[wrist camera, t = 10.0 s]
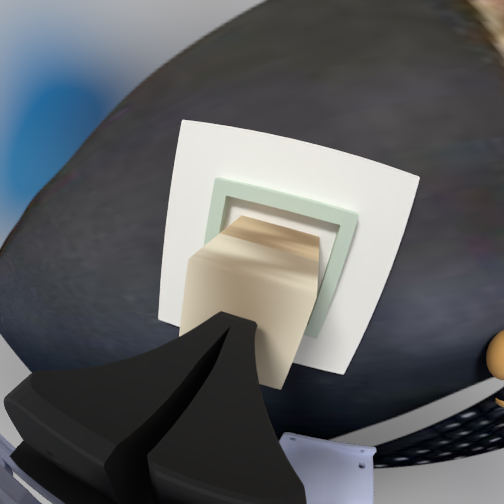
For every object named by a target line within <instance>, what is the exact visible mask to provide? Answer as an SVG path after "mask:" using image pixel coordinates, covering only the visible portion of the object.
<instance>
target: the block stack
mask: <svg viewBox="0 0 504 504" xmlns="http://www.w3.org/2000/svg"><path fill="white" fill-rule="evenodd" d="M319 239H320V237H319V236H315V235H312V234H308V233H305V232H301V231H298V230H294V229H290V228H287V227H283V226H280V225H276V224H272V223H269V222H265V221H261V220H258V219H254V218H250V217H246V216H243V215H242V216H240V217H239V218H238V219H237V220H235V221H234V222H233V223H232V224H230V225H229V226H228V227H227V228H225V229H224V230H223V231H222V232H221V233H219V234H218V235H217V236H216V237H214V238H213V239H212V240H211V241H209V242H208V243H207V244H206V245H205V246H203V247H202V248H201V249H200V250H199V251H197V252H196V253H195V254H194V255H192V256H191V257H190V258H189V259H188V266H187V273H186V281H185V289H184V297H183V305H182V314H181V323H180V333H179V337H180V336H181V335H183V334H185V333H187V332H188V331H190V330H192V329H193V328H195V327H197V326H198V325H200V324H201V323H203V322H205V321H206V320H208V319H209V318H211V317H212V316H213V315H215V314H216V313H218V312H220V311H223V312H226V313H229V314H232V315H236V316H239V317H242V318H246V319H249V320H252V321H255V322H256V323H257V325H258V326H257V330H256V333H255V357H256V367H257V374H258V380H259V384H262V385H266V386H269V387H273V388H276V389H280V390H281V389H282V386H283V384H284V381H285V379H286V377H287V374H288V372H289V369H290V367H291V364H292V362H293V359H294V357H295V354H296V352H297V349H298V347H299V344H300V341H301V339H302V336H303V334H304V331H305V328H306V326H307V323H308V320H309V317H310V315H311V312H312V309H313V306H314V304H315V301H316V298H317V287H318V266H319Z"/></svg>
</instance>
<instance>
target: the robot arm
mask: <svg viewBox="0 0 504 504" xmlns="http://www.w3.org/2000/svg"><path fill="white" fill-rule="evenodd" d="M257 326H258V325H257V323H256V322H255V321H252V320H249V319H246V318H242V317H239V316H236V315H232V314H229V313H226V312H223V311H220V312H218V313H216V314H215V315H213V316H212V317H211V318H209V319H208V320H206V321H205V322H203V323H201V324H200V325H198V326H197V327H195V328H193V329H192V330H190V331H188V332H187V333H185V334H183V335H181V336H180V337H178V338H176V339H174V340H172V341H170V342H168V343H166V344H164V345H162V346H160V347H158V348H155V349H153V350H151V351H148V352H146V353H143V354H140V355H138V356H135V357H132V358H128V359H124V360H121V361H117V362H113V363H109V364H105V365H100V366H94V367H88V368H81V369H72V370H53V371H34V372H33V373H32V374H30V375H29V376H28V377H27V378H26V379H25V380H23V381H22V382H21V383H20V384H19V385H18V386H17V387H16V388H15V389H14V390H12V391H11V392H10V393H9V394H8V395H7V396H6V397H5V398H4V406H5V409H6V411H7V413H8V415H9V417H10V419H11V421H12V422H13V424H14V426H15V427H16V429H17V431H18V432H19V434H20V435H21V437H22V438H23V440H24V441H22V443H21V444H20V445H19V446H18V447H17V448H15V447H13V446H12V445H11V444H10V443H9V442H8V441H7V440H6V439H5V438H4V437H3V436H1V434H0V504H41V503H40V502H39V501H38V500H37V499H36V498H35V497H34V496H33V495H32V494H31V493H30V492H29V491H28V490H27V489H26V488H25V487H23V485H21V484H20V483H19V482H18V481H17V480H16V479H15V478H14V477H13V472H15V473H16V474H17V475H18V476H19V477H20V478H21V479H22V480H24V481H25V482H26V483H27V484H28V485H30V486H31V487H32V488H33V489H34V490H36V491H37V492H38V493H39V494H41V495H42V496H43V497H45V498H46V499H47V500H49V501H50V502H51V503H53V504H373V503H374V480H373V455H374V454H375V453H376V448H375V447H370V446H361V445H354V444H348V443H340V442H335V441H329V440H324V439H318V438H313V437H308V436H303V435H299V434H294V433H290V432H285V433H283V435H282V437H281V439H280V440H279V441H278V438H277V436H276V434H275V431H274V429H273V427H272V424H271V422H270V419H269V416H268V413H267V410H266V407H265V404H264V401H263V397H262V393H261V389H260V385H259V380H258V374H257V367H256V357H255V333H256V330H257ZM12 471H13V472H12Z"/></svg>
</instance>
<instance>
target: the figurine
mask: <svg viewBox="0 0 504 504" xmlns="http://www.w3.org/2000/svg"><path fill="white" fill-rule="evenodd" d="M486 362H487V366H488V369H489V371H490V373H491V374H492V375H493V376H494V377H496V378H498V379H500V380H504V330H502V331H500V332H499V333H498V334H497V335H496V336H495V337H494V338H493V339H492V341H491V342H490V344H489V346H488V350H487V354H486ZM495 399H496V400H497V401H495V402H496V403H498V405H500V406H502V407H504V401H501V400H498V399H497V398H495Z"/></svg>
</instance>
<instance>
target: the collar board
mask: <svg viewBox="0 0 504 504" xmlns="http://www.w3.org/2000/svg"><path fill="white" fill-rule="evenodd" d="M419 179H420V177H418V176H416V175H413V174H410V173H407V172H405V171H402V170H399V169H396V168H393V167H390V166H387V165H384V164H381V163H378V162H375V161H372V160H368V159H365V158H362V157H359V156H355V155H352V154H348V153H345V152H341V151H338V150H334V149H331V148H327V147H323V146H319V145H315V144H311V143H307V142H303V141H299V140H295V139H290V138H286V137H281V136H277V135H272V134H267V133H262V132H257V131H252V130H247V129H241V128H235V127H229V126H223V125H217V124H211V123H204V122H196V121H189V120H182V123H181V129H180V134H179V140H178V145H177V151H176V157H175V163H174V170H173V176H172V183H171V190H170V197H169V205H168V213H167V221H166V230H165V239H164V249H163V260H162V271H161V284H160V299H159V317H158V319H159V320H162V321H165V322H167V323H170V324H173V325H175V326H178V327H180V323H181V314H182V305H183V297H184V289H185V281H186V273H187V266H188V259H189V258H190V257H191V256H192V255H194V254H195V253H196V252H197V251H199V250H200V249H201V248H202V247H203V246H205V245H206V244H207V243H208V242H209V241H211V240H212V239H213V238H214V237H216V236H217V235H218V234H219V233H221V232H222V231H223V230H224V229H225V228H227V227H228V226H229V225H230V224H232V223H233V222H234V221H235V220H237V219H238V218H239V217H240V216H242V215H243V216H246V217H250V218H254V219H258V220H261V221H265V222H269V223H272V224H276V225H280V226H283V227H287V228H290V229H294V230H298V231H301V232H305V233H308V234H312V235H315V236H319V237H320V239H319V266H318V287H317V298H316V301H315V304H314V306H313V309H312V312H311V315H310V317H309V320H308V323H307V326H306V328H305V331H304V334H303V336H302V339H301V341H300V344H299V347H298V349H297V352H296V354H295V357H294V359H293V363H297V364H301V365H305V366H309V367H313V368H317V369H321V370H325V371H329V372H334V373H338V374H343V375H344V373H345V371H346V369H347V367H348V365H349V363H350V361H351V359H352V357H353V355H354V353H355V351H356V349H357V347H358V345H359V343H360V341H361V338H362V336H363V334H364V332H365V330H366V328H367V325H368V323H369V321H370V319H371V316H372V314H373V312H374V310H375V307H376V305H377V302H378V300H379V298H380V295H381V293H382V290H383V288H384V285H385V283H386V280H387V278H388V275H389V272H390V270H391V267H392V264H393V262H394V259H395V256H396V253H397V251H398V248H399V245H400V242H401V239H402V236H403V233H404V230H405V227H406V224H407V220H408V217H409V214H410V211H411V207H412V204H413V201H414V197H415V193H416V190H417V186H418V182H419Z"/></svg>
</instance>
